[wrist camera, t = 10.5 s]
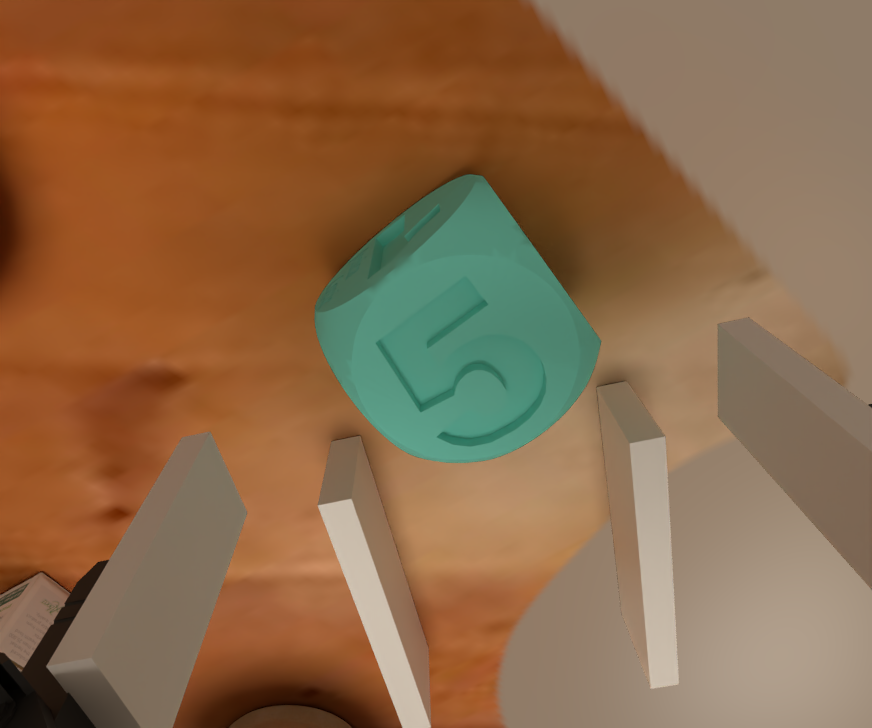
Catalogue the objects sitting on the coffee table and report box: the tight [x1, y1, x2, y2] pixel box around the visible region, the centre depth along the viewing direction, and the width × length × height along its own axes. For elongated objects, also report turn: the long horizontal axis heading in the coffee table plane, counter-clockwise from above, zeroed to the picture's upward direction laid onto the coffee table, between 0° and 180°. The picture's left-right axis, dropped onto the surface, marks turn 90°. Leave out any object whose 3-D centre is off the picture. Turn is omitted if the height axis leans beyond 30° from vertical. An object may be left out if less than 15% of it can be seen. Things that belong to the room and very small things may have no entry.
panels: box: [318, 381, 679, 728], centre depth 31 cm, size 16×15×5 cm
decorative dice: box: [315, 174, 601, 463], centre depth 24 cm, size 8×8×8 cm
